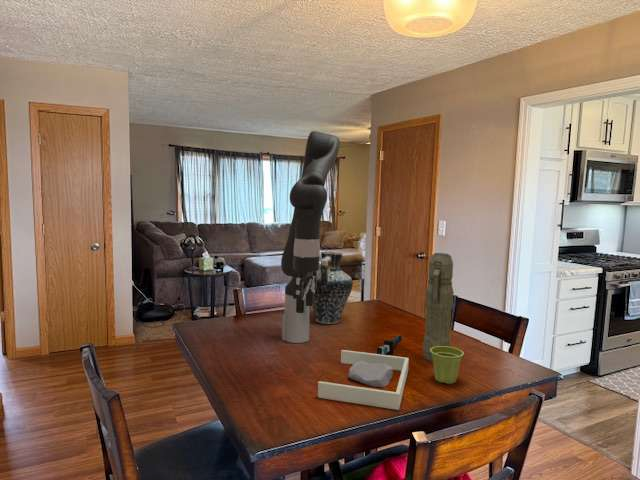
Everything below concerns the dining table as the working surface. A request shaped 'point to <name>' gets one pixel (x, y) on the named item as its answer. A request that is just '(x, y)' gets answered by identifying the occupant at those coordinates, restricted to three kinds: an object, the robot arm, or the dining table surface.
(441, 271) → the stone statue
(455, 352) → the plant pot
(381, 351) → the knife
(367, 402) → the cream u-shaped barrier
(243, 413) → the dining table surface
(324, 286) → the jug
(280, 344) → the dining table surface
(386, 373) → the stone block
